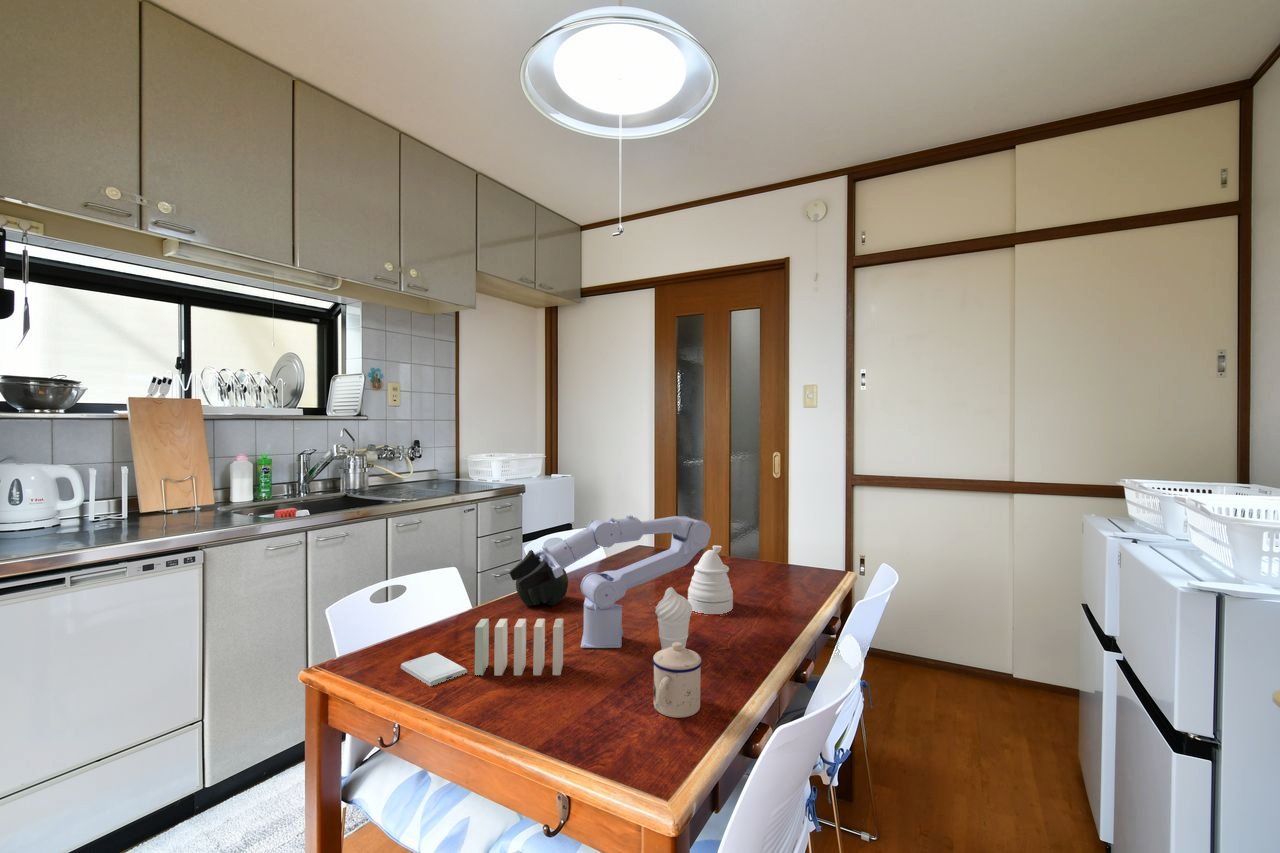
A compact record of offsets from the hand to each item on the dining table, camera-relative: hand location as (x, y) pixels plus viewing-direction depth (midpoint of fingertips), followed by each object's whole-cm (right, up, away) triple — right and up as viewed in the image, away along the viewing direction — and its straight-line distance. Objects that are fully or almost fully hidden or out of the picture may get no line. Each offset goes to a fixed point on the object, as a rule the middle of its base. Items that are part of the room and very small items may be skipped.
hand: (515, 581), depth 123 cm
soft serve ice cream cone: (+35, -17, -1) cm, 39 cm away
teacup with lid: (+34, -17, -23) cm, 44 cm away
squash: (-1, -17, +38) cm, 42 cm away
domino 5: (+11, -17, -6) cm, 21 cm away
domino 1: (-5, -17, -7) cm, 19 cm away
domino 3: (+3, -17, -7) cm, 18 cm away
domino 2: (-1, -17, -7) cm, 18 cm away
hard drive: (-15, -17, -7) cm, 24 cm away
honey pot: (+48, -18, +35) cm, 62 cm away
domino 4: (+7, -17, -7) cm, 19 cm away
